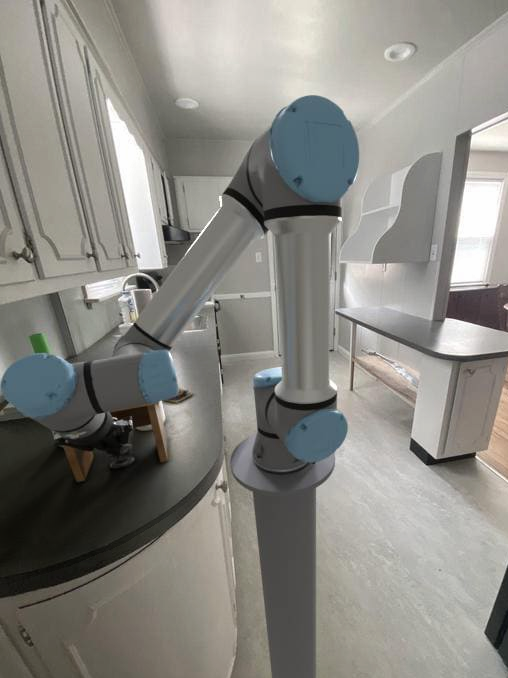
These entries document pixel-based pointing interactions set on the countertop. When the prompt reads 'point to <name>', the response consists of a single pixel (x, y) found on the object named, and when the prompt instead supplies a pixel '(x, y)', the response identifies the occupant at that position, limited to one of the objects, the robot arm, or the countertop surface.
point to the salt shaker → (121, 455)
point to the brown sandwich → (180, 396)
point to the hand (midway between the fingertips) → (116, 449)
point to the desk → (140, 417)
